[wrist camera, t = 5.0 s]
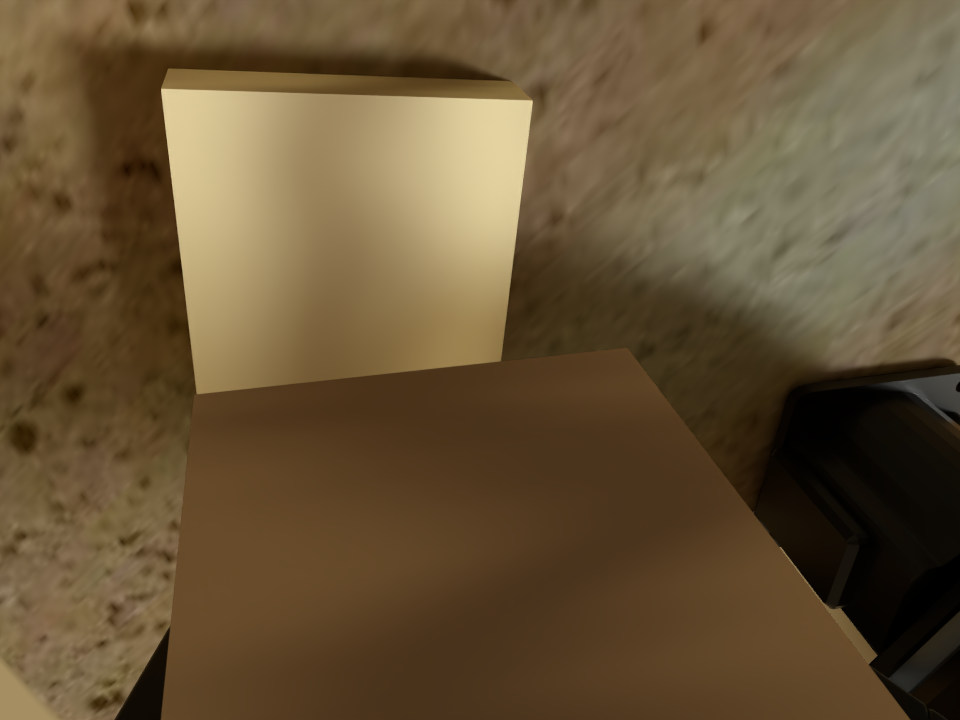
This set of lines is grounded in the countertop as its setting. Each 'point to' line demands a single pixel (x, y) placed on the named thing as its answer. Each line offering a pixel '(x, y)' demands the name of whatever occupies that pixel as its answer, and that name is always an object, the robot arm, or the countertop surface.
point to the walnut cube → (486, 559)
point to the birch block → (342, 221)
